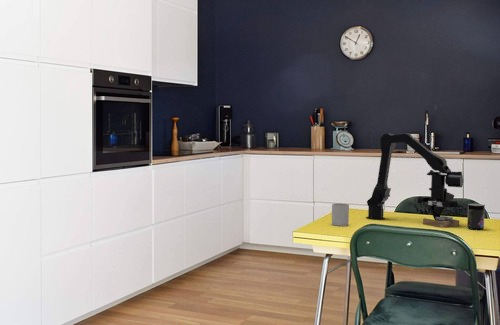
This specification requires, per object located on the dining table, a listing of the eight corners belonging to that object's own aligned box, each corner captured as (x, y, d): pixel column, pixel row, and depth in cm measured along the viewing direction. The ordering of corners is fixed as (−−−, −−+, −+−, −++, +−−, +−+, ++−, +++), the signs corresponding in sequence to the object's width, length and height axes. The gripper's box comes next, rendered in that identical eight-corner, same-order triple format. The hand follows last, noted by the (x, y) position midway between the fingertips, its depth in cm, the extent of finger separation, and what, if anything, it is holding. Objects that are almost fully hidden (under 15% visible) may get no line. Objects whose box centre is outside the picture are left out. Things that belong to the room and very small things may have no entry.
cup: (333, 226, 268) (334, 205, 267) (328, 222, 278) (329, 202, 277) (350, 226, 268) (350, 205, 268) (344, 222, 278) (345, 202, 278)
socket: (444, 227, 270) (444, 217, 270) (435, 225, 275) (435, 216, 274) (452, 226, 273) (452, 217, 273) (443, 225, 277) (443, 215, 277)
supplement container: (476, 230, 261) (477, 206, 261) (463, 228, 267) (464, 204, 266) (487, 229, 265) (488, 205, 264) (474, 227, 270) (475, 203, 270)
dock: (442, 227, 268) (442, 220, 268) (422, 224, 278) (423, 217, 278) (459, 226, 273) (459, 219, 273) (439, 222, 283) (439, 215, 283)
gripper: (467, 187, 273) (466, 223, 274) (434, 183, 289) (433, 217, 290) (449, 188, 267) (448, 224, 268) (417, 184, 283) (416, 218, 284)
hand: (436, 221), depth 278 cm, fingers closed
